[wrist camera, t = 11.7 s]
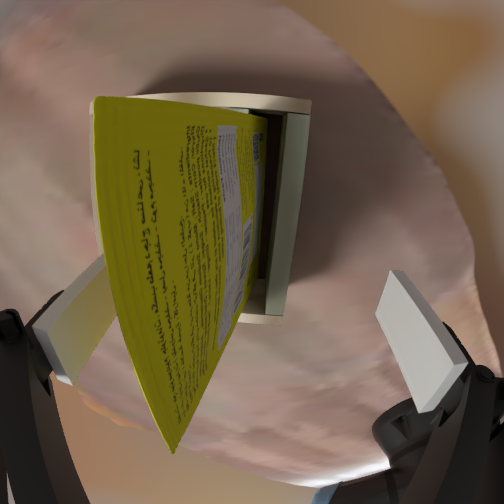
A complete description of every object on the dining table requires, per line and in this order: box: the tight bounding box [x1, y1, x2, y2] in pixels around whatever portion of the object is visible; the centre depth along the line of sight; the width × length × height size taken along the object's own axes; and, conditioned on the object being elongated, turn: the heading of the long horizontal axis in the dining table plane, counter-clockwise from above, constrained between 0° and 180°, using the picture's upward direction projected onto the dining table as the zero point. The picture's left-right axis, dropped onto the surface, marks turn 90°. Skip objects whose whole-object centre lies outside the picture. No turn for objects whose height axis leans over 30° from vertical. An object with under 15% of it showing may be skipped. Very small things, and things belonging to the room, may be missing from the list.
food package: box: [93, 96, 268, 454], centre depth 17 cm, size 15×1×20 cm, turn 177°
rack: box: [89, 92, 312, 325], centre depth 23 cm, size 16×18×6 cm
